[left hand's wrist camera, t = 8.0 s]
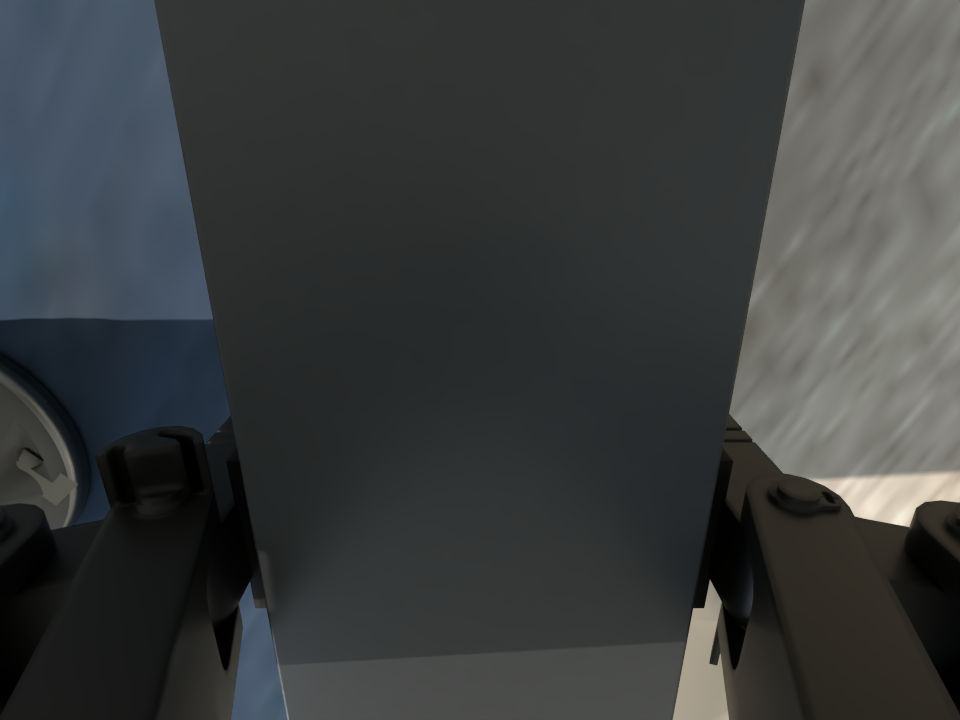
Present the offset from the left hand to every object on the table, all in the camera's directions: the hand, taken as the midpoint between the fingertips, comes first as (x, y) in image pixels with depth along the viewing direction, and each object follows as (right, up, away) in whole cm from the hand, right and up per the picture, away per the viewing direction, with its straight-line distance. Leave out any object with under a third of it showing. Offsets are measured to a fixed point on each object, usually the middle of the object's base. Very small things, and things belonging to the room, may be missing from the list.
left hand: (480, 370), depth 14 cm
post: (0, +31, -11) cm, 33 cm away
